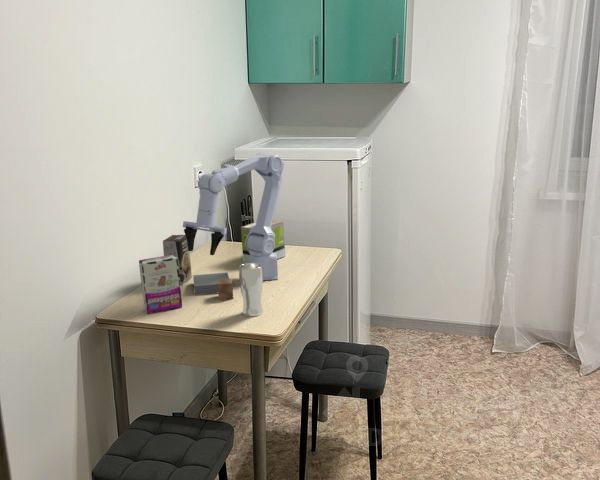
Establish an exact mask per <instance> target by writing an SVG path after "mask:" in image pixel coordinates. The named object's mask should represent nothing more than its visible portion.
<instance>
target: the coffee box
mask: <svg viewBox="0 0 600 480" xmlns="http://www.w3.org/2000/svg"><path fill="white" fill-rule="evenodd" d="M162 246H163V247H162V249H163V256H167V255H174V256H176V257H177V259H178V269H179V279H180V286H183V285H184V284H186V283H187V282H189V280H191V279H192V277H193V275H192V264H191V251H188V243H187V238H186V235H185V234H171V235H170V236H168V237H167V238H165V239H163V240H162Z"/></svg>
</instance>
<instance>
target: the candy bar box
mask: <svg viewBox="0 0 600 480" xmlns="http://www.w3.org/2000/svg"><path fill="white" fill-rule="evenodd" d="M138 266H139V273H140V282H141V292H142V300H143V309H144V311H145V312H146V313H147V315H150V314H155V313H161V312H166V311H169V310H174V309H179V308H180V309H181V308H183V301H182V291H181V290H182V289H181V285H180V279H179V269H178V259H177V257H176V256H174V255H167V256H164V255H162V256H156V257H151V258H150V257H149V258H144V259H140V260H138Z"/></svg>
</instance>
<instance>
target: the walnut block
mask: <svg viewBox="0 0 600 480" xmlns="http://www.w3.org/2000/svg"><path fill="white" fill-rule="evenodd" d="M217 281H218V293H217V294H218V295H217V296H218V301H225V300H226V301H227V300H234V290H233V289H234V287H233V281H232V278H229V279H223V280H217Z"/></svg>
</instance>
